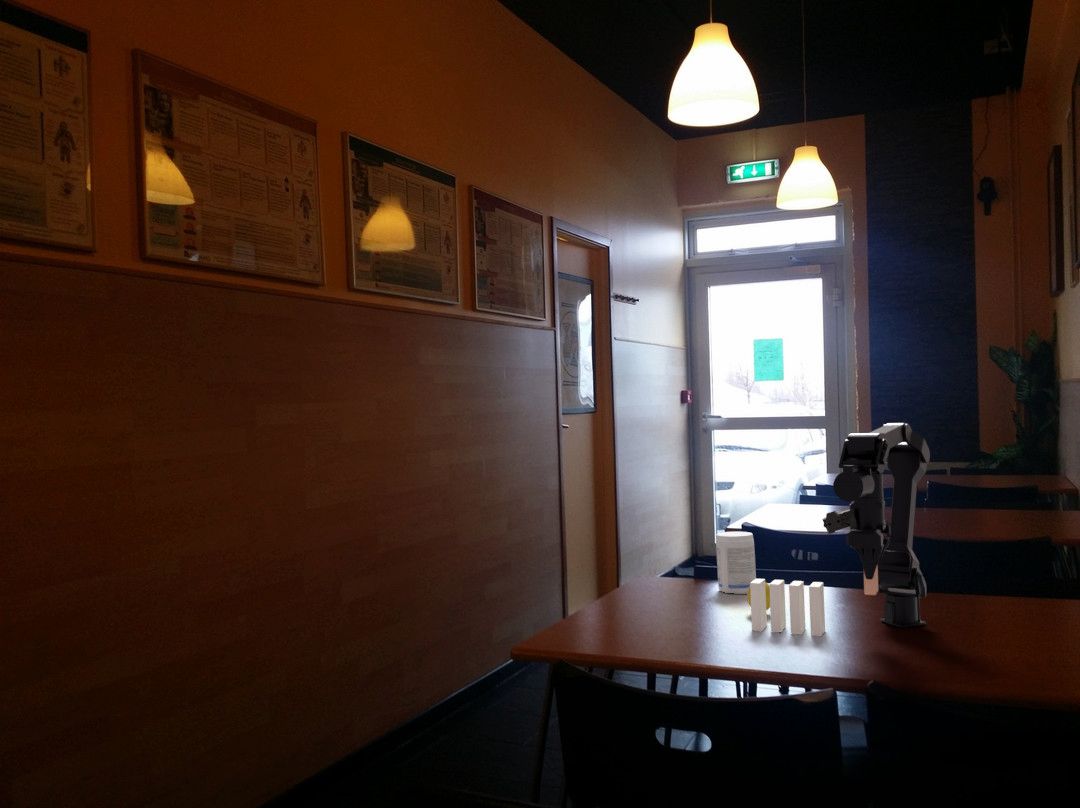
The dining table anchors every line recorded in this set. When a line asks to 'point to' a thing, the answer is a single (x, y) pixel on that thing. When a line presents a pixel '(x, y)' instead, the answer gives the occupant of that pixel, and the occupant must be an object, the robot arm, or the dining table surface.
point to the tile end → (758, 604)
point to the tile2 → (817, 608)
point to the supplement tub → (735, 561)
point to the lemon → (766, 596)
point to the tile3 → (797, 607)
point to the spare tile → (871, 584)
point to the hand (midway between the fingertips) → (870, 576)
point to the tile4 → (777, 605)
